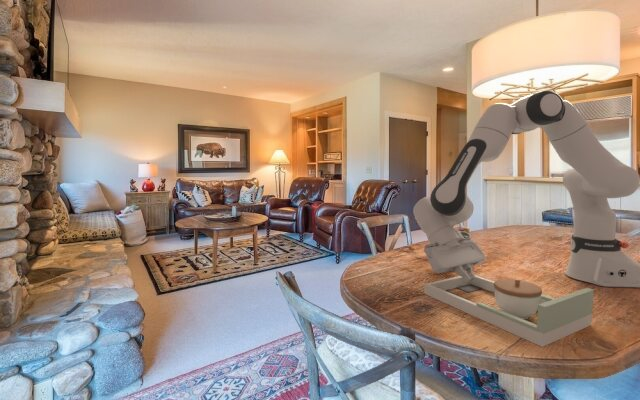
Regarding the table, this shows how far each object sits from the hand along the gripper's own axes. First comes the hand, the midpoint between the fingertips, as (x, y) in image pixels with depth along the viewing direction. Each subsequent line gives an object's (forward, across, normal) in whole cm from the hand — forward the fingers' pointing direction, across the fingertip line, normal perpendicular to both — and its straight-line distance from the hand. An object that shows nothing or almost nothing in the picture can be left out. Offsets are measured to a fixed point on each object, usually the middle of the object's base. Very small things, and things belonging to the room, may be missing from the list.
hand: (471, 280), depth 99 cm
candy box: (-12, +20, +19) cm, 30 cm away
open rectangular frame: (+14, 0, -11) cm, 18 cm away
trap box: (+9, 0, -2) cm, 9 cm away
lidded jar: (+13, 0, -6) cm, 15 cm away
